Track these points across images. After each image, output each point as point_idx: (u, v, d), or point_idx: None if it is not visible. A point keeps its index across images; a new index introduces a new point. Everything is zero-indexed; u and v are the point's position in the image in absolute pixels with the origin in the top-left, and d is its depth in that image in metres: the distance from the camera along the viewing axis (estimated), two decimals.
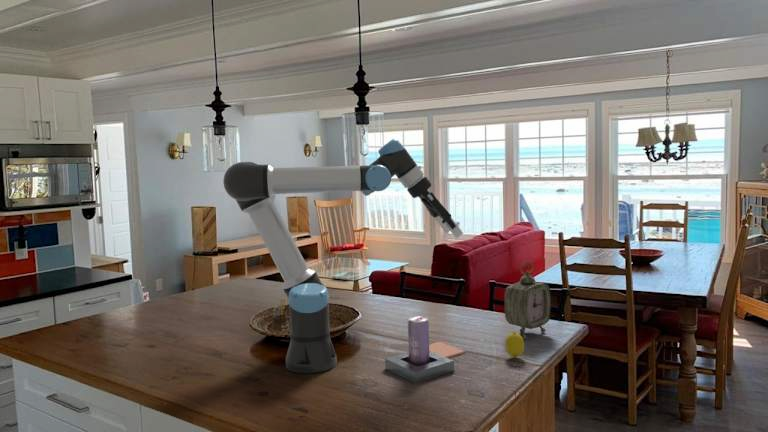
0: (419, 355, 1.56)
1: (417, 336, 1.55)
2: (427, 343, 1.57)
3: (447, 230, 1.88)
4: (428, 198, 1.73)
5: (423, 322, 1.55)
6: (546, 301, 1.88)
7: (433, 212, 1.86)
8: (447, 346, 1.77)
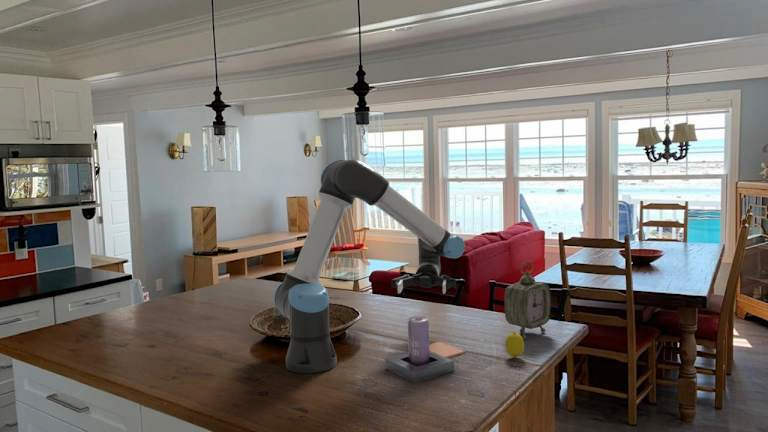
0: (419, 355, 1.56)
1: (417, 336, 1.55)
2: (427, 343, 1.57)
3: (400, 287, 1.69)
4: (446, 276, 1.81)
5: (423, 322, 1.55)
6: (546, 301, 1.88)
7: (405, 280, 1.76)
8: (447, 346, 1.77)
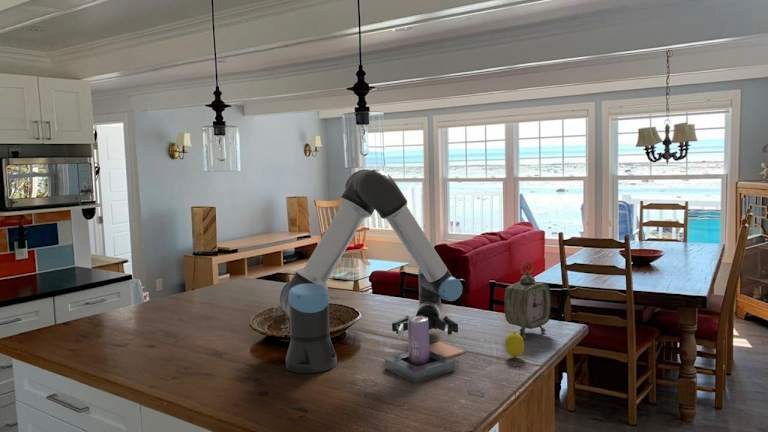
0: (419, 355, 1.56)
1: (417, 336, 1.55)
2: (427, 343, 1.57)
3: (401, 332, 1.64)
4: None
5: (423, 322, 1.55)
6: (546, 301, 1.88)
7: (406, 324, 1.72)
8: (447, 346, 1.77)
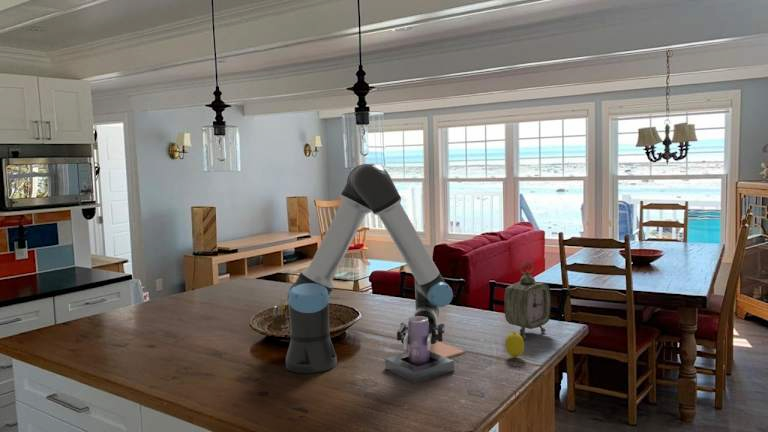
0: (419, 355, 1.56)
1: (417, 336, 1.55)
2: None
3: (406, 342, 1.54)
4: (443, 326, 1.68)
5: (423, 322, 1.55)
6: (546, 301, 1.88)
7: None
8: (447, 346, 1.77)
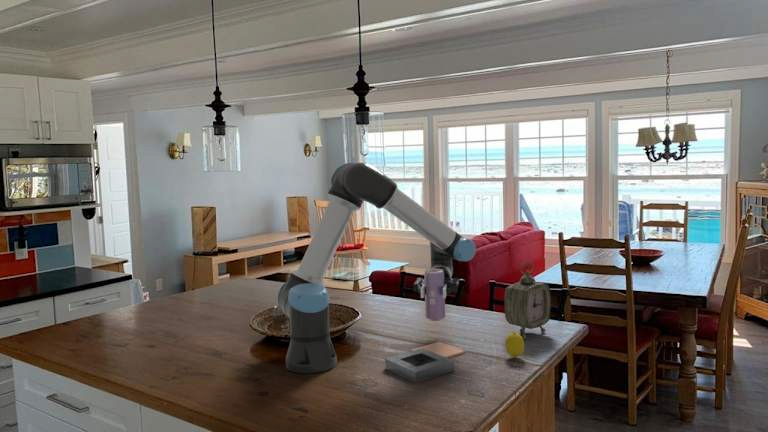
0: (435, 304, 1.66)
1: (433, 286, 1.65)
2: (442, 293, 1.67)
3: (423, 291, 1.65)
4: (458, 279, 1.78)
5: (438, 272, 1.66)
6: (546, 301, 1.88)
7: None
8: (447, 346, 1.77)
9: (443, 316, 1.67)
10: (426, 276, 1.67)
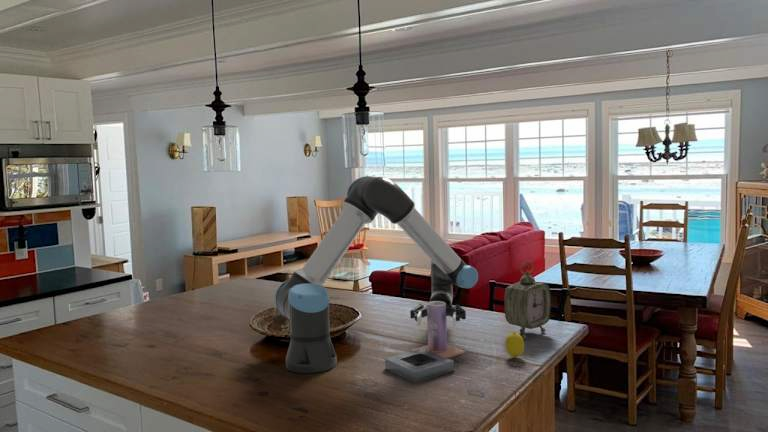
0: (438, 336, 1.70)
1: (436, 319, 1.70)
2: (445, 325, 1.71)
3: (419, 319, 1.70)
4: None
5: (441, 305, 1.70)
6: (546, 301, 1.88)
7: (423, 311, 1.78)
8: (447, 346, 1.77)
9: (445, 348, 1.72)
10: (429, 309, 1.71)
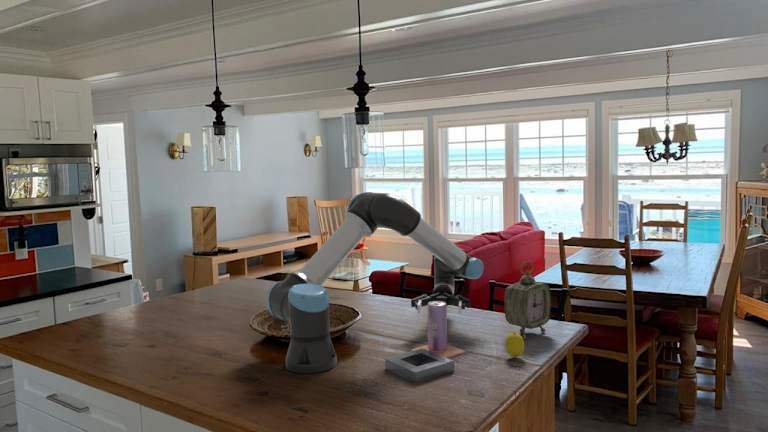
0: (438, 337, 1.70)
1: (436, 319, 1.70)
2: (445, 325, 1.71)
3: (419, 307, 1.84)
4: (461, 296, 1.96)
5: (441, 306, 1.70)
6: (546, 301, 1.88)
7: (424, 300, 1.92)
8: (447, 346, 1.77)
9: (445, 348, 1.72)
10: (429, 309, 1.71)
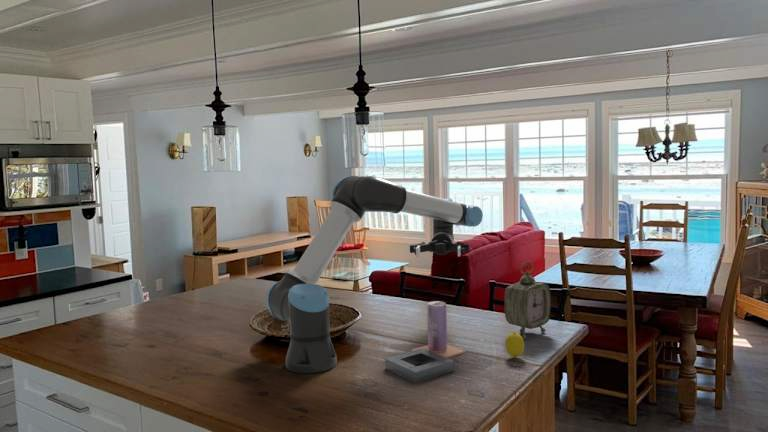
0: (438, 337, 1.70)
1: (436, 319, 1.70)
2: (445, 325, 1.71)
3: (418, 250, 1.82)
4: (460, 243, 1.95)
5: (441, 306, 1.70)
6: (546, 301, 1.88)
7: (422, 246, 1.90)
8: (447, 346, 1.77)
9: (445, 348, 1.72)
10: (429, 309, 1.71)
